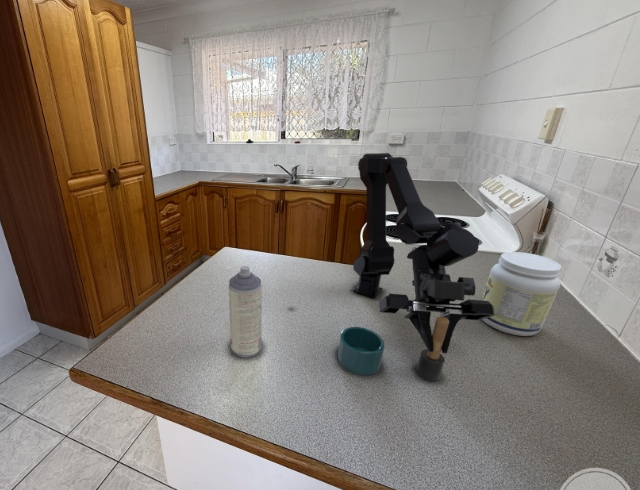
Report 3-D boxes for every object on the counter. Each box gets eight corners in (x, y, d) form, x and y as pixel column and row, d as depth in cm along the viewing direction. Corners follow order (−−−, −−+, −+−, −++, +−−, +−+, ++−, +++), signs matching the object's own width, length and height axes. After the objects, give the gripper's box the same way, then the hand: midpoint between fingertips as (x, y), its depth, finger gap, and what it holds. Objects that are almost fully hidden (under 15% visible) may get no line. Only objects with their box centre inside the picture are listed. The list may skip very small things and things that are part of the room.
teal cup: (347, 342, 71) (350, 322, 69) (385, 358, 66) (390, 337, 64) (331, 362, 65) (333, 341, 63) (371, 382, 60) (375, 359, 58)
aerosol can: (255, 335, 74) (255, 259, 66) (265, 354, 68) (266, 273, 60) (228, 340, 72) (224, 263, 65) (234, 360, 66) (232, 277, 59)
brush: (419, 363, 65) (433, 310, 60) (441, 372, 62) (457, 318, 57) (414, 374, 62) (428, 320, 57) (436, 384, 59) (453, 329, 54)
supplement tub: (481, 303, 85) (501, 246, 78) (541, 321, 77) (568, 259, 70) (471, 322, 77) (491, 260, 70) (537, 345, 69) (566, 278, 62)
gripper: (392, 256, 58) (398, 342, 53) (505, 262, 55) (524, 355, 49) (377, 274, 68) (380, 348, 63) (471, 281, 65) (484, 359, 59)
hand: (437, 352), depth 58 cm, fingers closed on brush, 2 cm apart
